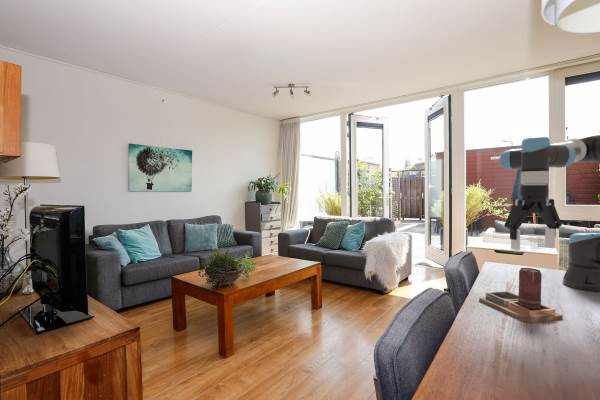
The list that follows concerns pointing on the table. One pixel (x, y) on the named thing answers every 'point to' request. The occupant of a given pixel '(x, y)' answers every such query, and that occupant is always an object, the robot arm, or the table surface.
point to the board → (518, 307)
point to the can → (530, 288)
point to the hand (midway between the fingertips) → (532, 248)
